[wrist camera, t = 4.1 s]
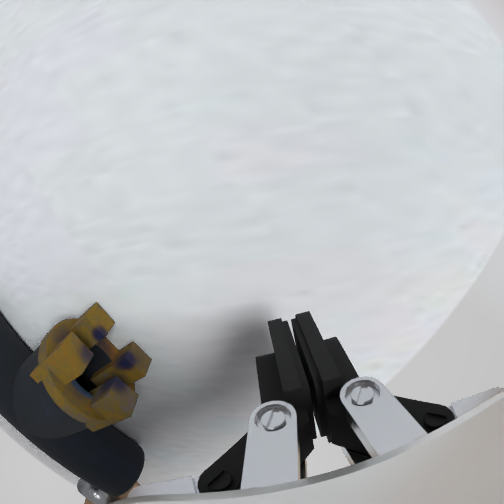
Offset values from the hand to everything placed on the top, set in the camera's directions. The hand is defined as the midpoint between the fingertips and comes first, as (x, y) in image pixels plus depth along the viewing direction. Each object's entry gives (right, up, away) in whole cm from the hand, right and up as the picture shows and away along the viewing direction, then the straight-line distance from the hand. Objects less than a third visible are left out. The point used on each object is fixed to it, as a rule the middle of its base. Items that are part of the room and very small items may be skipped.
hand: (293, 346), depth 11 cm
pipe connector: (-13, -3, +3) cm, 14 cm away
